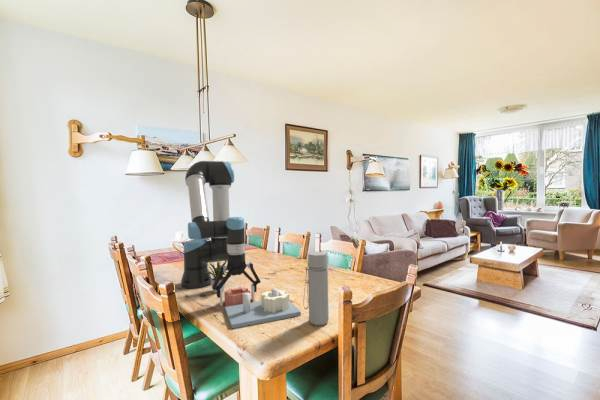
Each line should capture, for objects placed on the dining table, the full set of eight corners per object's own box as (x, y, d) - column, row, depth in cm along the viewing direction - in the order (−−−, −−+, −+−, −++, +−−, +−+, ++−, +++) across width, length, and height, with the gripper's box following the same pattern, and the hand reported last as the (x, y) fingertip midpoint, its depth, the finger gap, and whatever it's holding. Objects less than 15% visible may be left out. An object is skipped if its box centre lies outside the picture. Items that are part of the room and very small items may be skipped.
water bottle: (327, 316, 108) (326, 251, 107) (330, 326, 100) (329, 255, 99) (303, 317, 108) (302, 251, 107) (304, 327, 100) (302, 256, 99)
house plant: (199, 298, 129) (198, 262, 129) (201, 288, 142) (200, 256, 142) (231, 295, 133) (230, 260, 132) (230, 285, 146) (229, 254, 146)
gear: (223, 300, 126) (223, 289, 126) (246, 297, 130) (246, 286, 130) (227, 309, 117) (227, 297, 116) (251, 305, 120) (251, 293, 120)
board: (225, 310, 115) (224, 289, 115) (285, 300, 125) (285, 280, 125) (232, 328, 100) (231, 304, 99) (300, 315, 110) (300, 293, 109)
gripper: (206, 258, 114) (207, 310, 115) (266, 251, 124) (267, 300, 124) (204, 254, 121) (206, 303, 122) (262, 248, 131) (263, 294, 131)
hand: (237, 302), depth 123 cm, fingers open, 13 cm apart
